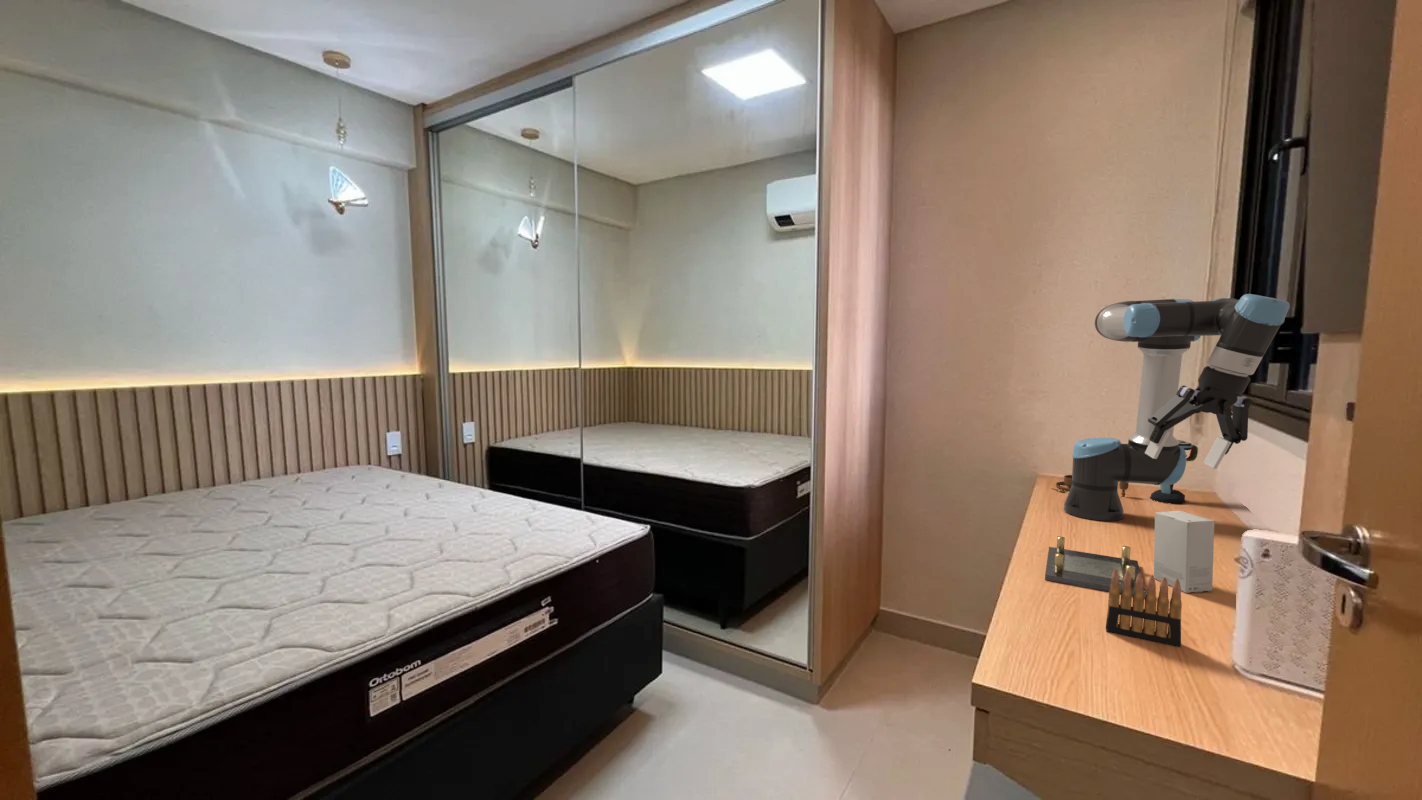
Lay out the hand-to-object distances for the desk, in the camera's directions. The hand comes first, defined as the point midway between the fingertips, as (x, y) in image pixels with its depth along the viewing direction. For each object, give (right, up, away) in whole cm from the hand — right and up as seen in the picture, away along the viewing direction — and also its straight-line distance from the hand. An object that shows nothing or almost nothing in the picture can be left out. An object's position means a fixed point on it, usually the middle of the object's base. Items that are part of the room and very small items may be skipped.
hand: (1180, 461), depth 122 cm
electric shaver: (+49, -20, +61) cm, 81 cm away
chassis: (-15, -27, +7) cm, 31 cm away
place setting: (+29, -20, +74) cm, 81 cm away
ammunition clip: (-25, -30, -21) cm, 44 cm away
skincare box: (0, -27, 0) cm, 27 cm away
